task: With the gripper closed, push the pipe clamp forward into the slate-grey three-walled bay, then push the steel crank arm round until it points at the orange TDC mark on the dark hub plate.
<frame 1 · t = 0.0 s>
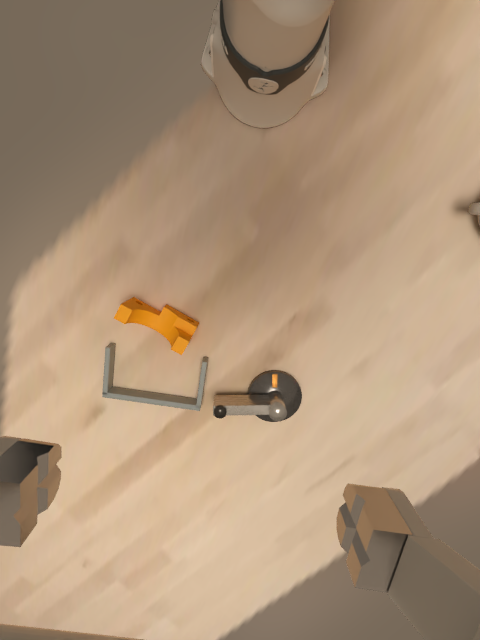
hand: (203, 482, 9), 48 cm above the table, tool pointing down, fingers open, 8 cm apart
crank base: (274, 395, 61), on the table
pipe clamp: (163, 315, 58), on the table
crank: (249, 405, 57), point 4 cm above the table, hinge at 0.0°
bay: (157, 373, 60), on the table
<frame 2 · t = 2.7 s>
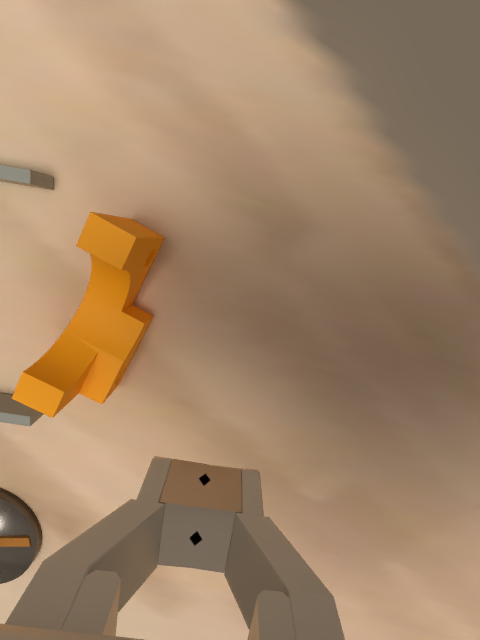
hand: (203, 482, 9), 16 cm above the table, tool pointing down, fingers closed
pipe clamp: (126, 306, 25), on the table
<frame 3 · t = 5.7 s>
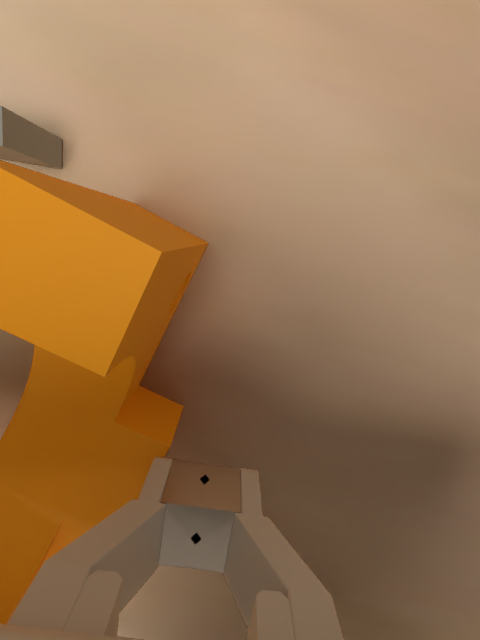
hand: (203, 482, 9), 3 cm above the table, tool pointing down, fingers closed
pipe clamp: (125, 387, 12), on the table
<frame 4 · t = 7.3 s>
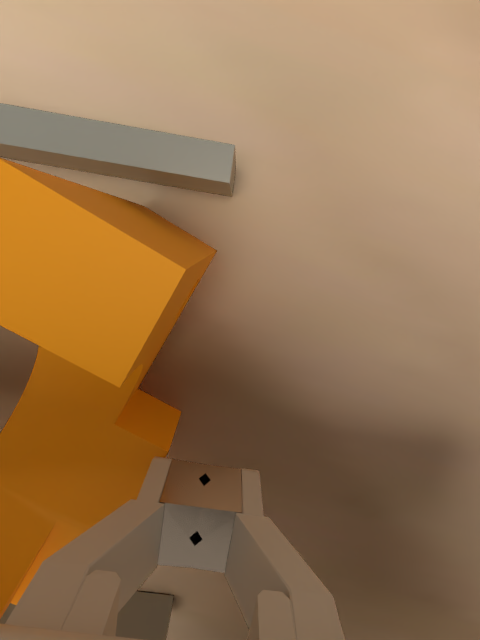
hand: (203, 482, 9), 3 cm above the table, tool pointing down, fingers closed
pipe clamp: (124, 388, 12), on the table
bay: (72, 410, 12), on the table
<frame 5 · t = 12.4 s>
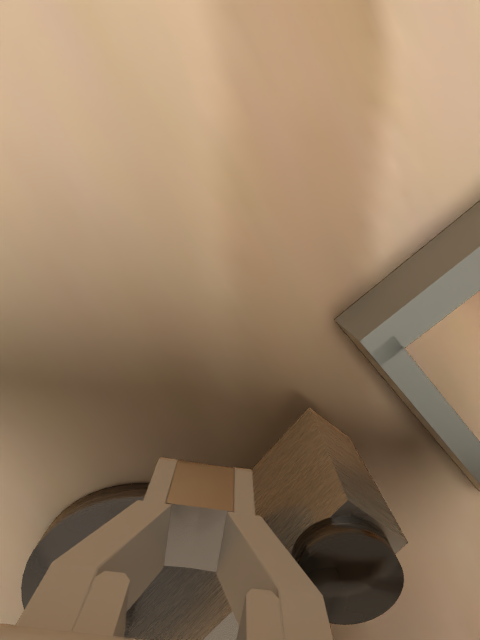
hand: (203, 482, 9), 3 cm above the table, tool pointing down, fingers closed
crank base: (151, 580, 14), on the table
crank: (209, 615, 10), point 4 cm above the table, hinge at -0.1°, touching gripper
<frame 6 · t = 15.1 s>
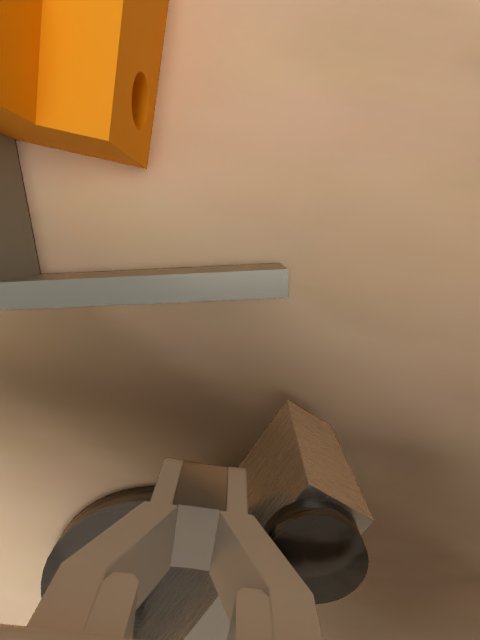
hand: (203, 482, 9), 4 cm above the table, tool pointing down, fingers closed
crank base: (164, 580, 15), on the table
crank: (207, 607, 10), point 4 cm above the table, hinge at -44.8°, touching gripper
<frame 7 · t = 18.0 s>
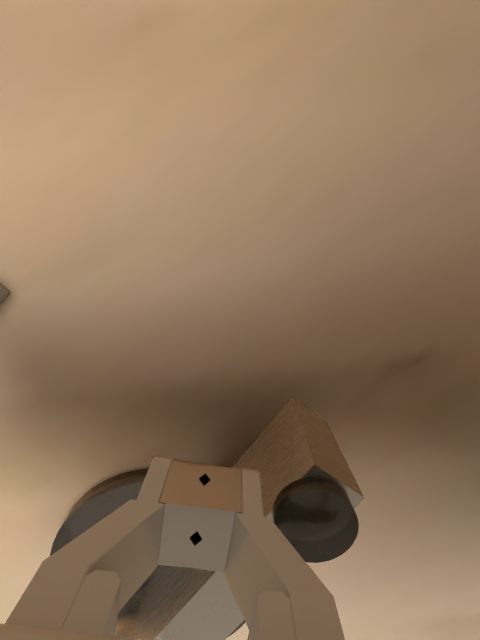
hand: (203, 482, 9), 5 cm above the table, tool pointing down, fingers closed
crank base: (162, 556, 16), on the table
crank: (211, 572, 12), point 4 cm above the table, hinge at -91.6°
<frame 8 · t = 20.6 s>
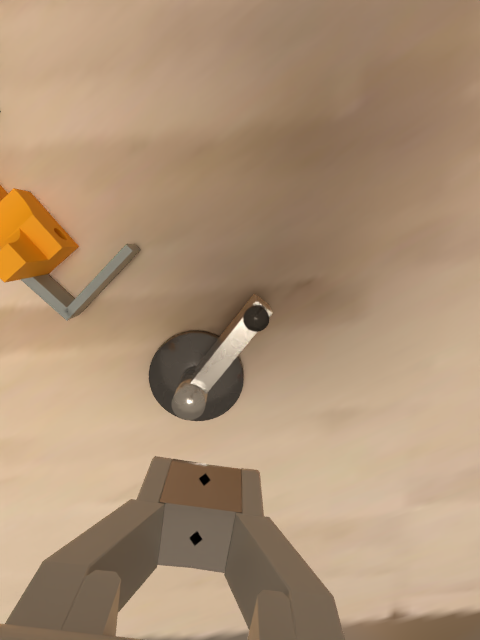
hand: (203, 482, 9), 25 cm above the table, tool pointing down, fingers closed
crank base: (197, 374, 35), on the table
pipe clamp: (20, 211, 32), on the table
crank: (221, 354, 31), point 4 cm above the table, hinge at -91.6°
bay: (41, 215, 31), on the table
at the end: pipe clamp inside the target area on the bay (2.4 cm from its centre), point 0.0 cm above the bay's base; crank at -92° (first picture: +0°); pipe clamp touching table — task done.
